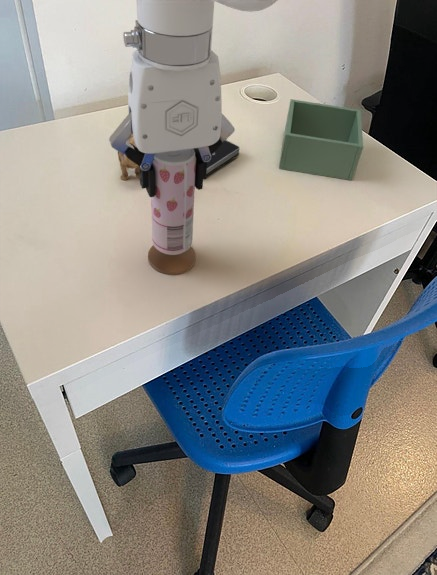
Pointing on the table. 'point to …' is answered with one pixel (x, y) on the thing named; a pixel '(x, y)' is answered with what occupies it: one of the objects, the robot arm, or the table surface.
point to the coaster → (171, 261)
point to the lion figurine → (128, 162)
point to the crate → (322, 140)
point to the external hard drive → (222, 156)
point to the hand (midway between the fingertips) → (173, 185)
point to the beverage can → (173, 201)
